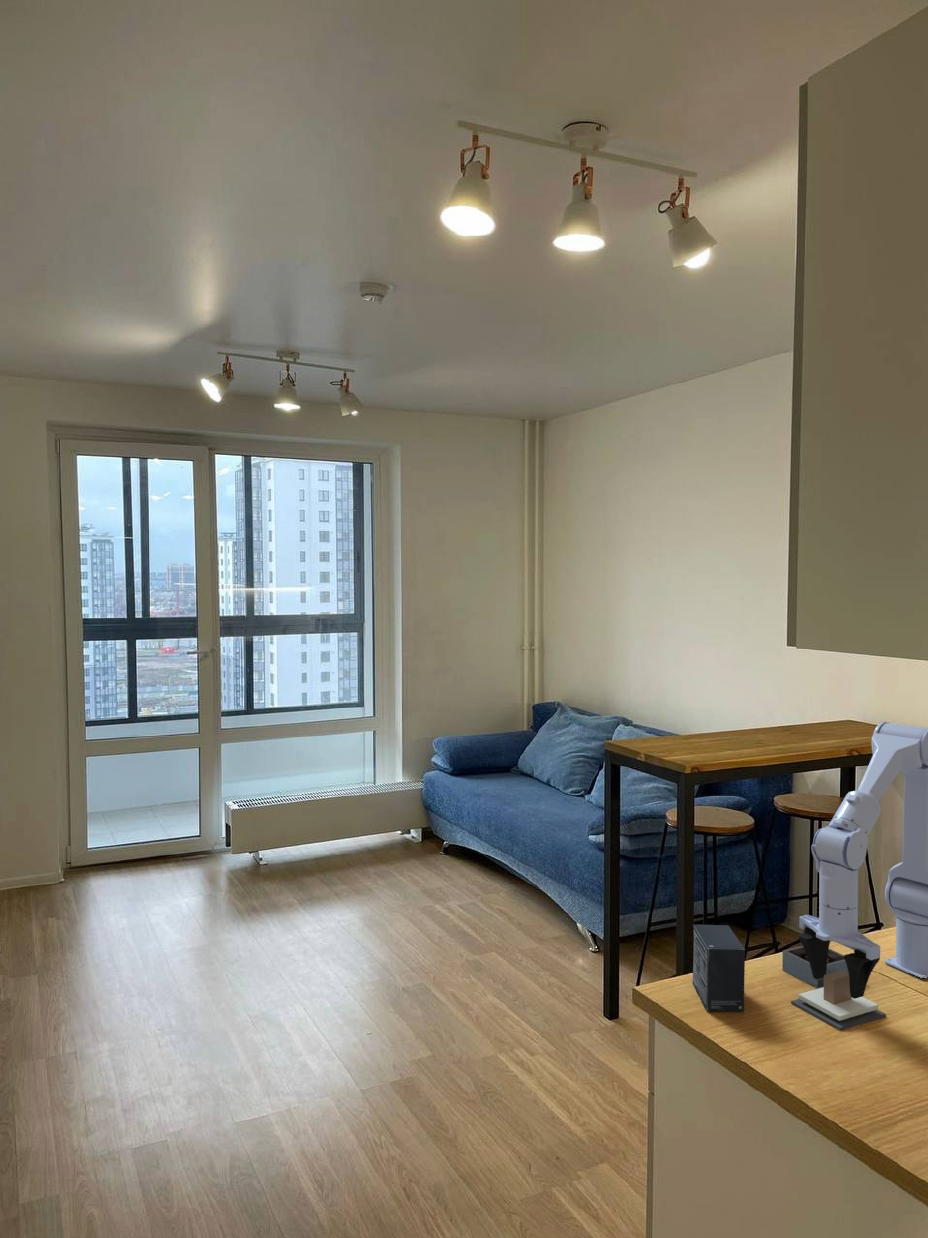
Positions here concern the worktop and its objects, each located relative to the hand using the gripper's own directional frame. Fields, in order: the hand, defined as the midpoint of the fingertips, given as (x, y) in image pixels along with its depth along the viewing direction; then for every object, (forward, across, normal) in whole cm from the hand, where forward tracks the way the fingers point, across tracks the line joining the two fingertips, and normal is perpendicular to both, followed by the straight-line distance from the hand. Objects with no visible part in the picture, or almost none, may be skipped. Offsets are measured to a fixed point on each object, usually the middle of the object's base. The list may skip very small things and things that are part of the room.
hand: (837, 986), depth 148 cm
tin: (+4, -11, +7) cm, 14 cm away
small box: (+4, -12, -14) cm, 19 cm away
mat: (+4, 0, 0) cm, 4 cm away
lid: (+3, 0, 0) cm, 3 cm away
